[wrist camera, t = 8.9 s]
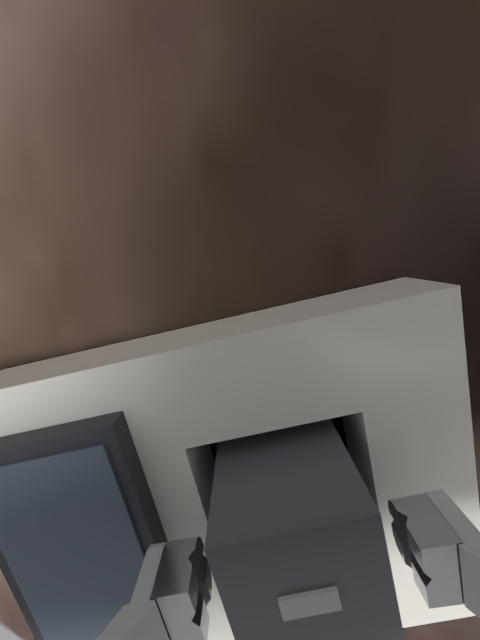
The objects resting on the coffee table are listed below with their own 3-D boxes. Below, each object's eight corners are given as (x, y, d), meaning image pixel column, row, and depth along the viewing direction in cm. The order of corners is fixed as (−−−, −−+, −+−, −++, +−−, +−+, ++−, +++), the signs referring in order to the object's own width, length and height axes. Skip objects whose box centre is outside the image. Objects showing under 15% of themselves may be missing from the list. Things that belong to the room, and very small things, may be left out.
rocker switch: (316, 392, 13) (383, 517, 7) (334, 475, 13) (409, 653, 8) (221, 414, 13) (203, 554, 7) (245, 495, 14) (247, 682, 8)
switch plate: (404, 276, 12) (484, 289, 8) (437, 538, 14) (509, 644, 10) (2, 369, 12) (-103, 421, 9) (99, 600, 15) (51, 719, 11)
